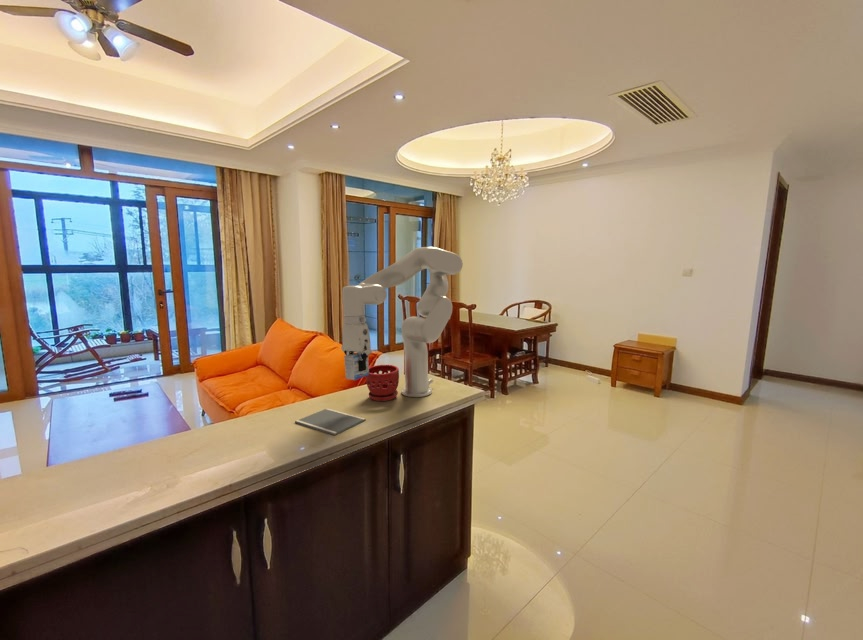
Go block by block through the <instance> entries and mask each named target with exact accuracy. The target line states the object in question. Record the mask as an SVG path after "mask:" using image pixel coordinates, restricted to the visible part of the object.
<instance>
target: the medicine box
mask: <svg viewBox="0 0 863 640" xmlns="http://www.w3.org/2000/svg"><path fill="white" fill-rule="evenodd" d="M362 356H363V353H362ZM343 359H344V370H345V373H344V374H345V379H347V380H351V381H357V380H359V379H362V378H364V377H365V378H366V376H368V375H369V367H370V366H369V365H370V364H369V356H368V357H367V359H366V370H364V371H361V372H360V371H359V365H358V361H359V355H358V352H354V353H353V354H350V355H344V358H343Z"/></svg>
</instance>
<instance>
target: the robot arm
mask: <svg viewBox="0 0 863 640" xmlns="http://www.w3.org/2000/svg"><path fill="white" fill-rule="evenodd" d="M462 269H463V259H462V258H461V256H460V255H458V254H457V253H455V252H452V251H448V250H446V249H442V248H439V247H435V246H421V247H415V248H414V249H412V250H410V251H409V252H408V253H406V254H405V255H404V256H402V257H401V258H400V259H398V260H397V261H396V262H394V263H392V264H391V265H389V266H386V267H385V268H383V269H381V270H379V271H377V272H375V273H373V274H372V275H370V276H368V277H367V278H365V279H364V280H362V281H361V282H360V283H358V285H346V286H343V287H342V307H343V308H342V311H343V326H342V345H341V348H340V350H341V351H342V352H343V353H344V356H346V355H350V354H353V353H357V352H358V355H359V361H358V365H359V371H360V372H361V371H364V370H366V359H367V357H368V358H369V356H370V355H371V354H372V353H373V350H372V348H371V347H372V344H371V336H370V330H369V326H368V324H367V323H366V322H367V318H366V309H365V307H366V306H367V305H372V306H377V305H381V304H382V303H384V302H385V301H386V299H387V296H388V294H387V290H386V289H388V288H393V287H396V286H399V285H402V284H405V283H407V282H408V281H410V280H411V279H412V278H413V277H415V276H416V275H417V274H419V273H420V272H421V271H423V270H427V271H428V273H429V284H428V285H427V287H426V289H425V291H424V293H423V294H422V296H421V297H420V298H419V300H418V303H417V306H416V311H417V313H418V314H419V316H409V317H407V318H405V319H404V320H403V321H402V324H401V329H400V330H401V336H402V339H403V340H402V341H403V350H404V351H403V355H404V356H403V358H404V387H403V388H402V389H401V394H402V395H403V396H405V397H410V398H420V397H421V398H423V397H427V396H430V395H431V394H432V392H433V388H432V387H430V384H432V383H434V379H433V378H429V361H428V360H429V357H428V356H429V351H428V350H429V349H428V345H427V344H431V343H435V342H436V341H437V340H438V339H439V338H440V336H441V334H442V333H443V331H444V329H445V328H446V326H447V324H448V322H449V320H450V318H451V317H452V314H453V302H452V301H451V299H450V298H448V297H447V294H448V292H449V281H448V277H447V276H454V275H455V276H456V275H457V274H459V273H460V272H461V271H462ZM365 305H366V306H365ZM362 353H363V356H362Z"/></svg>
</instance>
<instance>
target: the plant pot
mask: <svg viewBox="0 0 863 640" xmlns="http://www.w3.org/2000/svg"><path fill="white" fill-rule="evenodd" d="M380 372H381V373H380ZM365 380H366V385H367V386H366V387H367V389H368V391H369V393H368V397H369V398H370V399H372V400H373V401H378V402H386V401H390V400H393V399H395V398H396V397H397V396H398V394H399V393H398V392H399V391H398V386H399V381H400V370H399V367H398V366H396V365H393V364H377V365H372V366H369V375H368V376H365Z"/></svg>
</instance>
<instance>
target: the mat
mask: <svg viewBox="0 0 863 640" xmlns="http://www.w3.org/2000/svg"><path fill="white" fill-rule="evenodd" d="M365 421H366V418H364V417H360V416H356V415H355V414H354V415H352V414H349V413H345V412H342V411H338V410H335V409H331V408H324V409H322V410H319V411H317V412H314V413H312V414H310V415H307V416H305V417H302V418H300V419H296V420H295V421H294V423H295V424H297V425H300V426H304V427H306V428H309V429H314V430H315V431H319V432H321V433H322V432H323V433H325V434H329V435H332V436H337V435H339V434H341V433H342V432H344V431H345V432H346V431H347V430H349V429H352V428H353V427H355V426H357V425H359V424H361V423H363V422H365Z"/></svg>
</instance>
